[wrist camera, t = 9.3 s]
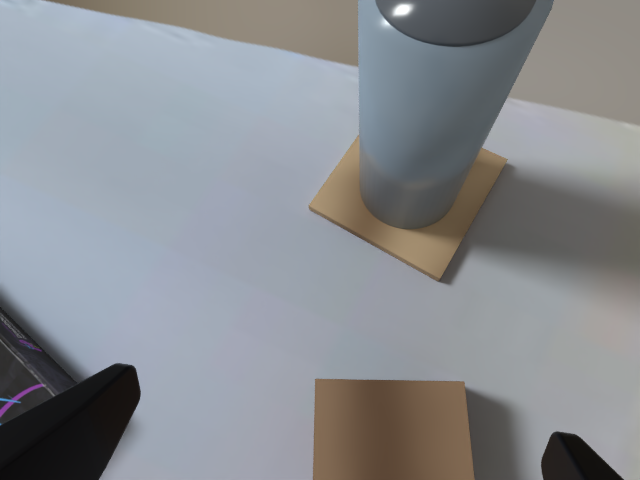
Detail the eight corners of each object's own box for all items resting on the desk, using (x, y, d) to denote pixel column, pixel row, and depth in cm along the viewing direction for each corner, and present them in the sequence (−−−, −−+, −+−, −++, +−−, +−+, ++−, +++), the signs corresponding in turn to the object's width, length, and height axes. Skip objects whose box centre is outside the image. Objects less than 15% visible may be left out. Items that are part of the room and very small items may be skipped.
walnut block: (450, 382, 21) (464, 381, 18) (460, 490, 19) (477, 507, 17) (321, 380, 22) (315, 378, 19) (319, 484, 20) (312, 499, 17)
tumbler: (478, 184, 24) (599, -26, 12) (409, 249, 23) (464, 90, 11) (406, 127, 26) (446, -104, 14) (339, 184, 25) (320, -12, 13)
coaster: (504, 164, 25) (507, 159, 25) (437, 281, 23) (439, 278, 22) (380, 108, 28) (381, 103, 27) (309, 209, 25) (308, 205, 25)
